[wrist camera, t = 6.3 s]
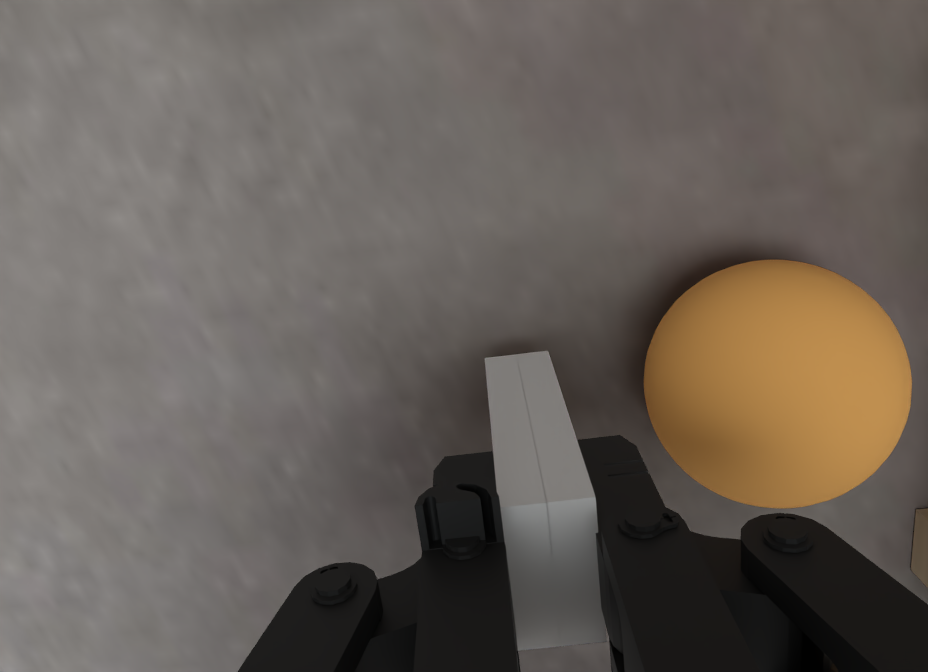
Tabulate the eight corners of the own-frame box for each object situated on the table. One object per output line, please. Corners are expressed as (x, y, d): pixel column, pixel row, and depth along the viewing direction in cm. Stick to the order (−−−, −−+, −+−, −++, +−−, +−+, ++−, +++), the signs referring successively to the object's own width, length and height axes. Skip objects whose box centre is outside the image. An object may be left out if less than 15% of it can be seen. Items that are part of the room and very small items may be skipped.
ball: (900, 584, 14) (925, 445, 18) (891, 307, 13) (921, 223, 17) (624, 535, 17) (698, 426, 22) (587, 309, 16) (676, 237, 20)
